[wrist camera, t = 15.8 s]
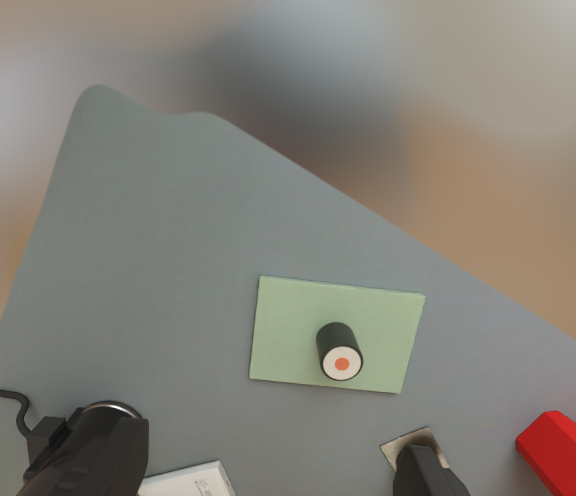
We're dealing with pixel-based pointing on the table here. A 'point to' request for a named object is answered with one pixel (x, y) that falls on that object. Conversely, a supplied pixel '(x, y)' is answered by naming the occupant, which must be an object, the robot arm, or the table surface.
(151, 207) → the table surface
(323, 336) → the sushi roll
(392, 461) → the condiment
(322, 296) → the sushi plate
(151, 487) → the hard drive
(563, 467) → the book
